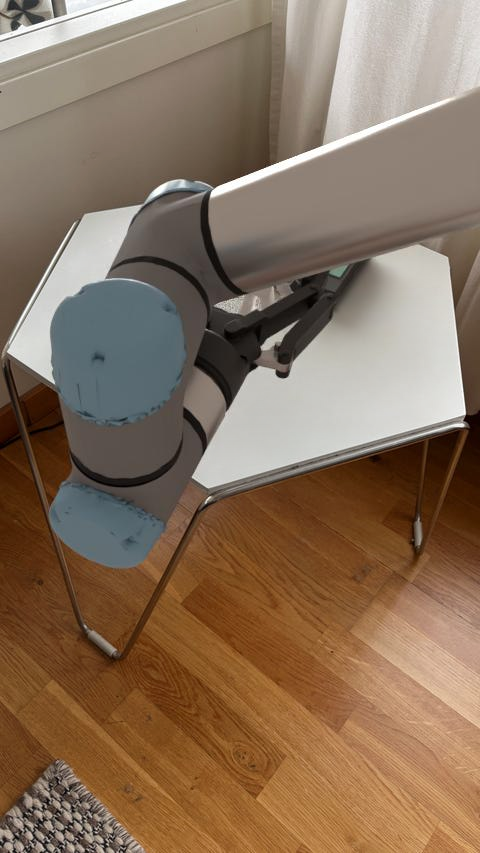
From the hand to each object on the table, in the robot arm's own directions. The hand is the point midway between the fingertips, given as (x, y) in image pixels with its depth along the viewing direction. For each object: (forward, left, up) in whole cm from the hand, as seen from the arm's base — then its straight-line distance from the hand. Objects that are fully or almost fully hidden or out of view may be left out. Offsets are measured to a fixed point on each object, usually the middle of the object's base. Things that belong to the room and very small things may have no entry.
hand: (278, 238), depth 70 cm
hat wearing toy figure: (0, +5, -7) cm, 9 cm away
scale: (+4, -20, -18) cm, 27 cm away
